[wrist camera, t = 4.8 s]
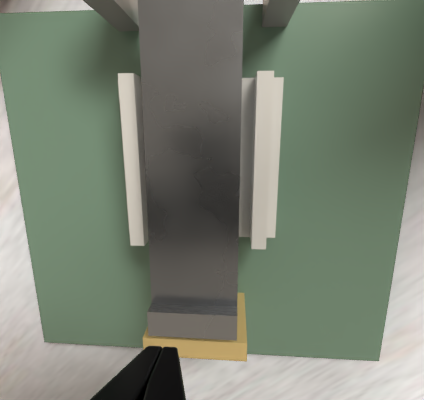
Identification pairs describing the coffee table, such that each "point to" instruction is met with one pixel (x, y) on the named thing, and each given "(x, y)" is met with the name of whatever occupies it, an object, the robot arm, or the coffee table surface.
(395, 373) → the coffee table surface
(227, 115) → the grey hinged lever
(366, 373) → the coffee table surface
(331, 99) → the board
